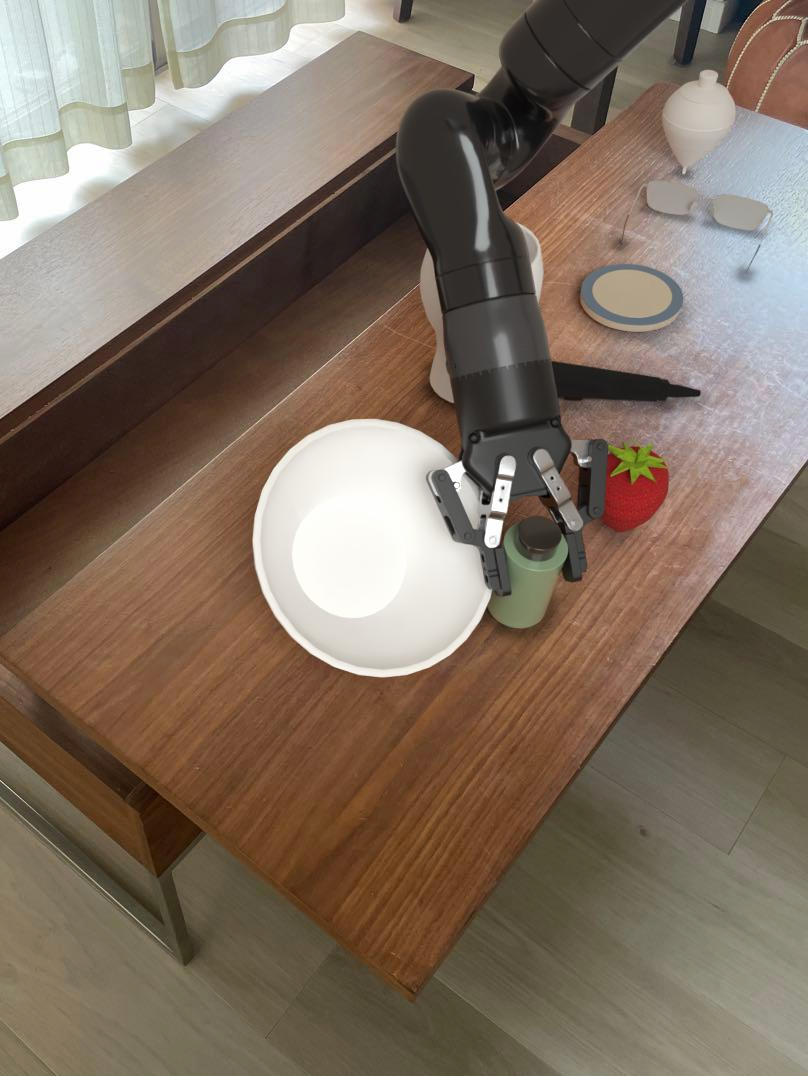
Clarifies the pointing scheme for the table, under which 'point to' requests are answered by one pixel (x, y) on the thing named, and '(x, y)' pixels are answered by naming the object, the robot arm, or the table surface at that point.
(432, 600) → the bowl
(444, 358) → the cup
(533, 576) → the pepper shaker
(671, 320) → the saucer
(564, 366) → the microphone
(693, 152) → the spinning top
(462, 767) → the table surface
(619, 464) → the strawberry
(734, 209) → the eyeglasses
